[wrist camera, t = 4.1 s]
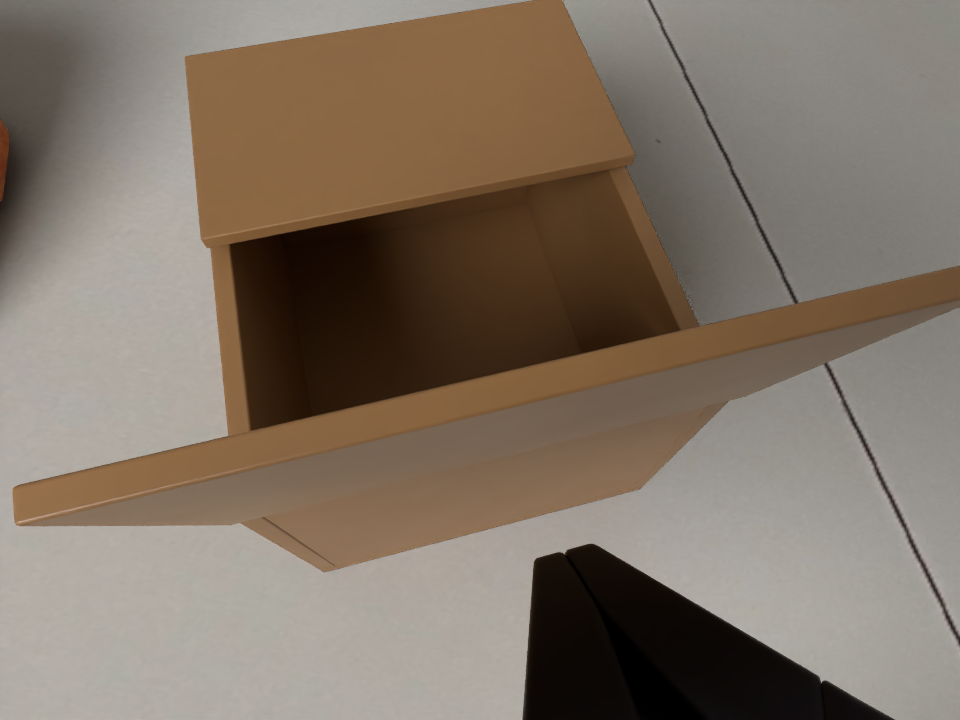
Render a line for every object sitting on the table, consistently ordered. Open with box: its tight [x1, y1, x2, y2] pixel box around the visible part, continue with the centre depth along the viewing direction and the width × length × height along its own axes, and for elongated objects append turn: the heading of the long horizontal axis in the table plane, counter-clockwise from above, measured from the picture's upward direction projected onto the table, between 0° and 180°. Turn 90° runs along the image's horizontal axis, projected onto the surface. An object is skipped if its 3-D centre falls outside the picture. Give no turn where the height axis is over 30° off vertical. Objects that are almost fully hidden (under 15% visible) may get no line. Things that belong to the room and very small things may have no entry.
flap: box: [13, 266, 960, 526], centre depth 10 cm, size 6×11×1 cm
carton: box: [185, 0, 728, 572], centre depth 20 cm, size 13×11×9 cm
